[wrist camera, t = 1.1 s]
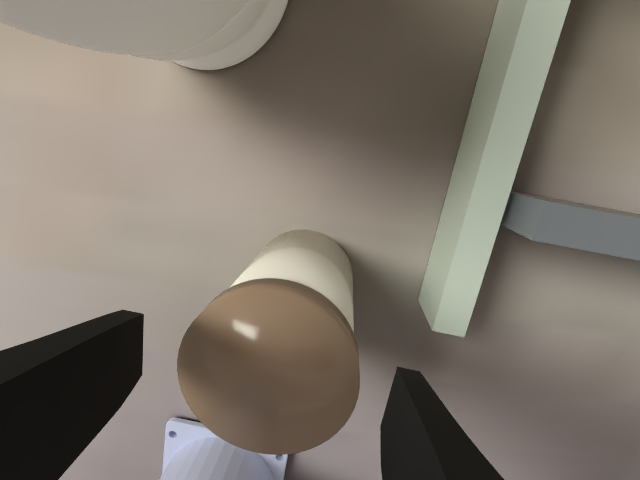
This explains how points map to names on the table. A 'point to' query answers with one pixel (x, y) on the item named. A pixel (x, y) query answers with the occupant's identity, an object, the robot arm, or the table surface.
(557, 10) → the lane
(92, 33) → the jar
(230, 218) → the table surface
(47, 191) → the table surface
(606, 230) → the plate
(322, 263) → the spice jar
